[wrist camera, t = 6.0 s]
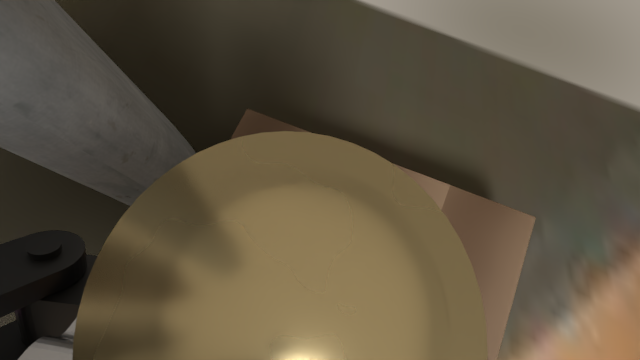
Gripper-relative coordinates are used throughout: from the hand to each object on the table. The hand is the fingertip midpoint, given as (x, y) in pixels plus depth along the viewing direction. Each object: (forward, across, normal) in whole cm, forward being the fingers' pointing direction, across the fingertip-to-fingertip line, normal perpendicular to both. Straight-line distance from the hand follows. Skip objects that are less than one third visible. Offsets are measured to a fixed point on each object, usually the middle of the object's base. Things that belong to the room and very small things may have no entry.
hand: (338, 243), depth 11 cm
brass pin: (+3, 0, +6) cm, 6 cm away
